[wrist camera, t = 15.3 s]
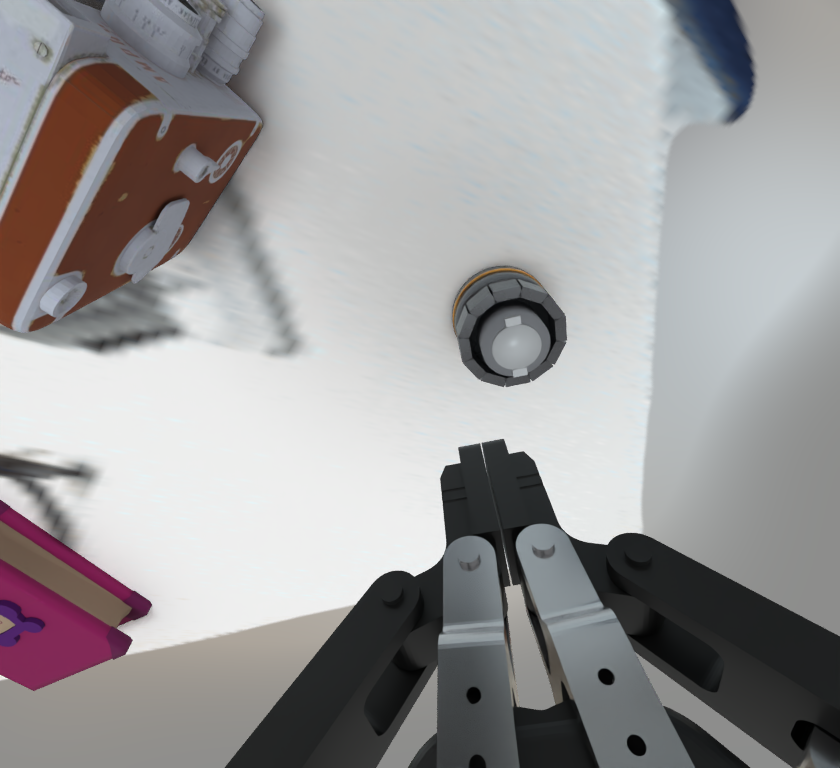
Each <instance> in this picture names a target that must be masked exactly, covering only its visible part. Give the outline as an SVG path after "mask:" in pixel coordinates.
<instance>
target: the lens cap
mask: <svg viewBox="0 0 840 768" xmlns="http://www.w3.org/2000/svg"><path fill="white" fill-rule="evenodd" d="M477 340H478V343H479V346H480V349H481V352H482V355H483V358H484V360H485V362H486V364H487V365H488V366H489V367H490V368H491V369H492V370H493V371H495V372H496V373H499V374H501V375H505V376H513V377H519V376H524V375H528V373H529V372H531V371H532V370H534V369H535V368H537V367H538V366H539V365H540V364H541V363H542V362H543V361H544V359H545V358H546V356H547V354H548V352H549V348H550V334H549V331H548V329H547V327H546V326H545V325H544V323H543V322H542V320H541V319H540V318H539V316H538V315H537V313H536V312H535V311H534V309H533V308H532V307H531V306H529V305H528V304H526V303H524V302H521V301H517V300H507V301H502V302H499V303H497V304H495V305H493V306H491V307H490V308H489V309H488V310H487V311H485V313H484V314H483V315H482V317H481V318H480V320H479V322H478V326H477Z"/></svg>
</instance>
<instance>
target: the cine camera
mask: <svg viewBox="0 0 840 768" xmlns="http://www.w3.org/2000/svg"><path fill="white" fill-rule="evenodd" d="M264 15H265V14H264V12H263V11H262V10H261V9H260V8H259V7H258V6H257V5H256V4H255V3H254V2H253V1H252V0H188V1H187V0H106V1H105V3H104V6H103V8H102V10H101V11H99V10H96V9H94V8H92V7H89V6H86V5H84V4H81V3H79V2H76V1H74V0H0V323H1V324H2V325H4V326H6V327H8V328H10V329H12V330H15V331H19V332H23V333H26V332H31V331H35V330H39V329H41V328H43V327H45V326H47V325H49V324H51V323H54V322H56V321H58V320H60V319H61V318H63V317H65V316H67V315H69V314H71V313H73V312H74V311H76V310H78V309H80V308H82V307H84V306H86V305H87V304H89V303H91V302H93V301H95V300H97V299H99V298H100V297H102V296H104V295H106V294H108V293H110V292H112V291H113V290H115V289H117V288H119V287H121V286H123V285H125V284H127V283H128V282H130V281H132V282H133V283H137V282H138V281H140V280H141V279H142V278H143V277H144V276H145V275H146V274H147V273H148V272H149V271H151V270H153V269H154V268H156V267H158V266H160V265H162V264H164V263H165V262H167V261H169V260H170V259H172V258H173V257H175V256H177V255H178V254H179V253H181V252H182V251H183V250H184V248H185V247H186V246H187V245H188V243H189V242H190V241H191V239H192V238H193V236H194V235H195V233H196V231H197V230H198V228H199V227H200V225H201V224H202V222H203V221H204V219H205V217H206V216H207V214H208V213H209V211H210V210H211V208H212V207H213V205H214V203H215V202H216V200H217V199H218V197H219V196H220V194H221V193H222V191H223V189H224V188H225V186H226V185H227V183H228V182H229V180H230V179H231V177H232V175H233V174H234V172H235V171H236V169H237V168H238V166H239V165H240V163H241V161H242V160H243V158H244V157H245V155H246V154H247V152H248V151H249V149H250V147H251V146H252V144H253V143H254V141H255V140H256V138H257V136H258V134H259V133H260V131H261V129H262V126H263V123H262V120H261V118H260V117H259V116H258V114H257V113H256V112H254V111H253V110H252V109H251V108H250V107H249V106H248V105H247V104H246V103H245V102H244V101H243V100H242V99H241V98H240V97H238V96H237V95H236V94H235V93H234V92H233V91H232V90H231V89H230V88H229V87H228V86H226V85H225V83H228V82H229V80H230V78H231V77H232V75H233V74H234V75H237V74H238V72H239V70H240V69H239V65H240V64H241V62H242V60H243V59H244V60H246V58H247V57H248V55H249V52H248V51H249V50H250V48H251V46H252V44H253V43H254V41H255V39H256V34H257V32H258V31H259V29H260V27H261V25H262V24H263V22H262V18H263V17H264Z"/></svg>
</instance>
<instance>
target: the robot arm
mask: <svg viewBox="0 0 840 768" xmlns="http://www.w3.org/2000/svg"><path fill="white" fill-rule="evenodd" d="M482 448H483V453H484V458H483V454H482V450H481V446H480V443H479V444H474V445H469V446H463V447H458V449H459V455H460V461H461V463H459V464H453V465H448V466H445V468H444V471H443V473H442V475H441V478H440V481H441V491H442V501H443V511H444V522H445V532H446V550H445V553H444V555H443V557H442V558H441V560H440V561H439V562H438V563H437V564H436V565H435V566H433V567H432V568H430V569H429V570H427V571H425V572H423V573H421V574H419V575H417V576H415V577H414V576H413V575H411V574H410V573H407V572H405V571H391V572H388V573H386V574H384V575H382V576H380V577H379V578H378V579H377V580H376V581H375V582H374V583H373V584H372V585H371V586H370V588H369V589H368V590H367V591H366V593H365V594H364V595H363V596H362V598H361V599H360V600H359V601H358V603H357V604H356V605H355V606H354V608H353V609H352V610H351V611H350V613H349V614H348V615H347V616H346V618H345V619H344V620H343V621H342V623H341V624H340V625H339V626H338V627H337V629H336V630H335V631H334V632H333V634H332V635H331V636H330V638H329V639H328V640H327V641H326V642H325V644H324V645H323V646H322V647H321V649H320V650H319V651H318V652H317V654H316V655H315V656H314V658H313V659H312V660H311V661H310V662H309V664H308V665H307V666H306V667H305V669H304V670H303V671H302V672H301V673H300V675H299V676H298V677H297V678H296V680H295V681H294V682H293V683H292V685H291V686H290V687H289V688H288V690H287V691H286V692H285V693H284V695H283V696H282V697H281V698H280V699H279V701H278V702H277V703H276V705H275V706H274V707H273V708H272V710H271V711H270V712H269V713H268V715H267V716H266V717H265V718H264V719H263V721H262V722H261V723H260V724H259V726H258V727H257V728H256V729H255V731H254V732H253V733H252V734H251V736H250V737H249V738H248V739H247V741H246V742H245V743H244V744H243V745H242V747H241V748H240V749H239V751H238V752H237V753H236V754H235V756H234V757H233V758H232V759H231V761H230V762H229V763H228V764H227V765H226V767H225V768H376V767H377V765H378V764H379V762H380V760H381V759H382V757H383V755H384V754H385V752H386V750H387V749H388V747H389V745H390V743H391V742H392V740H393V738H394V737H395V735H396V734H397V732H398V730H399V729H400V727H401V725H402V723H403V722H404V720H405V718H406V717H407V715H408V714H409V712H410V710H411V709H412V707H413V705H414V704H415V702H416V700H417V699H418V697H419V695H420V694H421V692H422V690H423V689H424V687H425V685H426V684H427V682H428V680H429V678H430V677H431V675H432V674H433V672H434V670H435V669H436V667H437V665H438V693H437V694H438V695H437V696H438V697H437V733H436V734H435V735H433V736H432V737H431V738H430V739H429V740H428V741H427V742H426V743H425V744H424V745H423V747H422V748H421V749H420V750H419V751H418V753H417V754H416V756H415V757H414V759H413V760H412V761H411V763H410V765H409V767H408V768H750V767H749V766H748V765H746V764H745V763H744V762H743V761H741V760H740V759H739V758H738V757H737V756H735V755H734V754H733V753H732V752H730V751H729V750H728V749H727V748H725V747H724V746H723V745H722V744H721V743H719V742H718V741H717V740H716V739H714V738H713V737H712V736H711V735H710V734H708V733H707V732H706V731H705V730H703V729H702V728H701V727H700V726H698V725H697V724H695V723H694V722H692V721H691V720H689V719H688V718H686V717H685V716H683V715H681V714H680V713H678V712H676V711H674V710H672V709H670V708H667V707H665V706H663V705H662V703H661V701H660V699H659V697H658V695H657V694H656V692H655V690H654V688H653V686H652V684H651V682H650V680H649V678H648V676H647V674H646V673H645V670H644V669H643V667H642V665H641V663H640V661H639V659H638V657H637V655H636V653H637V654H639V655H640V656H641V657H643V658H644V659H645V660H647V661H648V662H650V663H651V664H652V665H654V666H655V667H657V668H658V669H659V670H660V671H662V672H663V673H665V674H666V675H667V676H669V677H670V678H671V679H673V680H674V681H675V682H677V683H678V684H680V685H681V686H682V687H684V688H685V689H686V690H688V691H689V692H691V693H692V694H693V695H694V696H696V697H697V698H699V699H700V700H701V701H703V702H704V703H705V704H707V705H708V706H710V707H711V708H712V709H714V710H715V711H716V712H718V713H719V714H720V715H722V716H723V717H724V718H726V719H727V720H729V721H730V722H731V723H733V724H734V725H735V726H737V727H738V728H740V729H741V730H742V731H744V732H745V733H746V734H748V735H749V736H750V737H752V738H753V739H755V740H756V741H757V742H759V743H760V744H761V745H763V746H764V747H765V748H767V749H768V750H769V751H771V752H772V753H773V754H775V755H776V756H778V757H779V758H780V759H782V760H783V761H784V762H786V763H787V764H789V765H790V766H791V767H793V768H840V636H838V635H836V634H834V633H832V632H830V631H828V630H826V629H824V628H823V627H821V626H819V625H817V624H815V623H813V622H811V621H809V620H807V619H805V618H803V617H802V616H800V615H798V614H796V613H794V612H792V611H790V610H788V609H786V608H784V607H782V606H781V605H779V604H777V603H775V602H773V601H771V600H769V599H767V598H765V597H763V596H762V595H760V594H758V593H756V592H754V591H752V590H750V589H748V588H746V587H744V586H742V585H741V584H739V583H737V582H735V581H733V580H731V579H729V578H727V577H725V576H723V575H721V574H719V573H718V572H716V571H714V570H712V569H710V568H708V567H706V566H704V565H702V564H700V563H698V562H697V561H695V560H693V559H691V558H689V557H687V556H685V555H683V554H681V553H679V552H678V551H676V550H674V549H672V548H670V547H668V546H666V545H664V544H662V543H660V542H658V541H656V540H655V539H653V538H651V537H648V536H646V535H643V534H638V533H625V534H621V535H618V536H616V537H614V538H613V539H612V540H611V541H610V542H609V544H608V545H603V544H594V543H587V542H583V541H579V540H577V539H575V538H573V537H571V536H569V535H568V534H567V533H566V532H565V531H564V530H563V529H562V528H561V527H560V525H559V523H558V521H557V518H556V516H555V513H554V511H553V508H552V505H551V503H550V500H549V498H548V495H547V493H546V490H545V487H544V486H543V482H542V480H541V477H540V476H539V472H538V470H537V467H536V464H535V462H534V460H533V459H531V458H530V457H529V456H528V455H527V454H526V453H525V452H524V451H523V452H517V453H512V454H509V453H508V450H507V447H506V444H505V441H504V439H500V440H494V441H489V442H484V443H482ZM484 459H485V463H484ZM485 464H486V467H485ZM486 470H487V471H486ZM503 545H504V547H503ZM504 550H505V552H504ZM505 554H506V558H507V562H508V567H509V571H510V575H511V579H512V584H513V585H518V584H521V588H522V592H523V596H524V601H525V607H526V612H527V615H528V618H529V621H530V624H531V627H532V630H533V633H534V636H535V639H536V642H537V645H538V648H539V651H540V654H541V657H542V660H543V663H544V666H545V669H546V672H547V675H548V678H549V682H550V685H551V688H552V692H553V697H554V701H555V704H556V705H555V706H553V707H551V708H549V709H546V710H534V709H528V708H522V707H520V704H519V698H518V692H517V684H516V678H515V669H514V662H513V654H512V646H511V638H510V631H509V623H508V616H507V611H508V603H507V598H506V593H505V587H507V586H510V580H509V574H508V569H507V563H506V558H505ZM635 652H636V653H635Z"/></svg>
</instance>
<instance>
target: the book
mask: <svg viewBox="0 0 840 768" xmlns="http://www.w3.org/2000/svg"><path fill="white" fill-rule="evenodd" d="M151 606H152V604H151V602H150V601H149V600H147V599H146V598H144V597H143V596H141V595H140V594H138V593H137V592H135V591H132V590H131V589H129V588H128V587H126V586H125V585H123V584H122V583H120V582H119V581H117V580H116V579H114V578H113V577H111V576H110V575H109V574H107V573H106V572H104V571H103V570H101V569H100V568H98V567H97V566H95V565H94V564H92V563H91V562H89V561H88V560H87V559H85V558H84V557H82V556H81V555H79V554H78V553H76V552H75V551H73V550H72V549H70V548H69V547H67V546H66V545H65V544H63V543H62V542H60V541H59V540H57V539H56V538H54V537H53V536H51V535H50V534H48V533H47V532H45V531H44V530H43V529H41V528H40V527H38V526H37V525H35V524H34V523H32V522H31V521H29V520H28V519H26V518H25V517H23V516H22V515H20V514H19V513H18V512H16V511H15V510H13V509H12V508H10V506H9V505H7V504H6V503H4V502H3V501H1V500H0V675H2V676H4V677H6V678H8V679H10V680H12V681H14V682H17V683H19V684H21V685H23V686H25V687H27V688H29V689H31V690H33V691H35V690H37V689H40V688H42V687H44V686H47V685H49V684H52V683H54V682H56V681H59V680H61V679H64V678H66V677H68V676H71V675H74V674H76V673H78V672H81V671H83V670H86V669H88V668H90V667H93V666H95V665H98V664H100V663H103V662H105V661H108V660H110V659H112V658H113V659H116V658H118V657H121V656H123V655H125V654H126V652H127V651H128V649H129V647H130V645H131V643H132V641H133V640H132V639H131V637H129V636H128V635H126V634H124V633H123V632H121V631H120V630H118V629H116V628H117V627H118V626H119V625H122V624H124V623H126V622H129V621H131V620H136V619H139V618H141V617H143V616H145V615H147V613H148V611H149V610H150V608H151Z"/></svg>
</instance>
